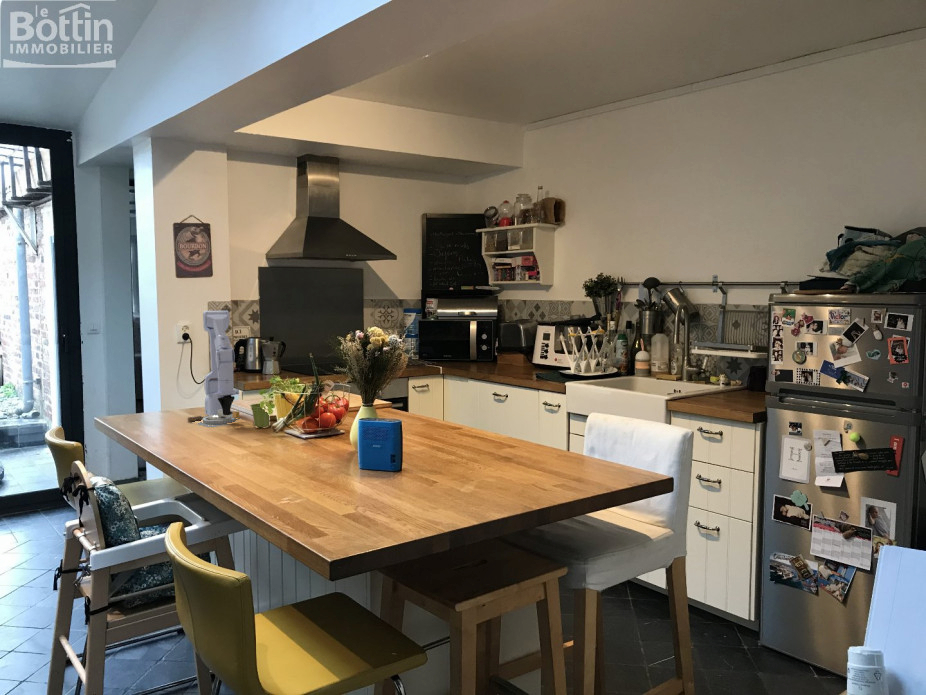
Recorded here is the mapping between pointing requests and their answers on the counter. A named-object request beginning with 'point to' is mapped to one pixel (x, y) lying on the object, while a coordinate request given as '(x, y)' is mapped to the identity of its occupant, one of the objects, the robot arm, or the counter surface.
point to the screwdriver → (195, 418)
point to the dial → (223, 417)
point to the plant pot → (259, 416)
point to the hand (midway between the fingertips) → (226, 415)
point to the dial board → (216, 422)
